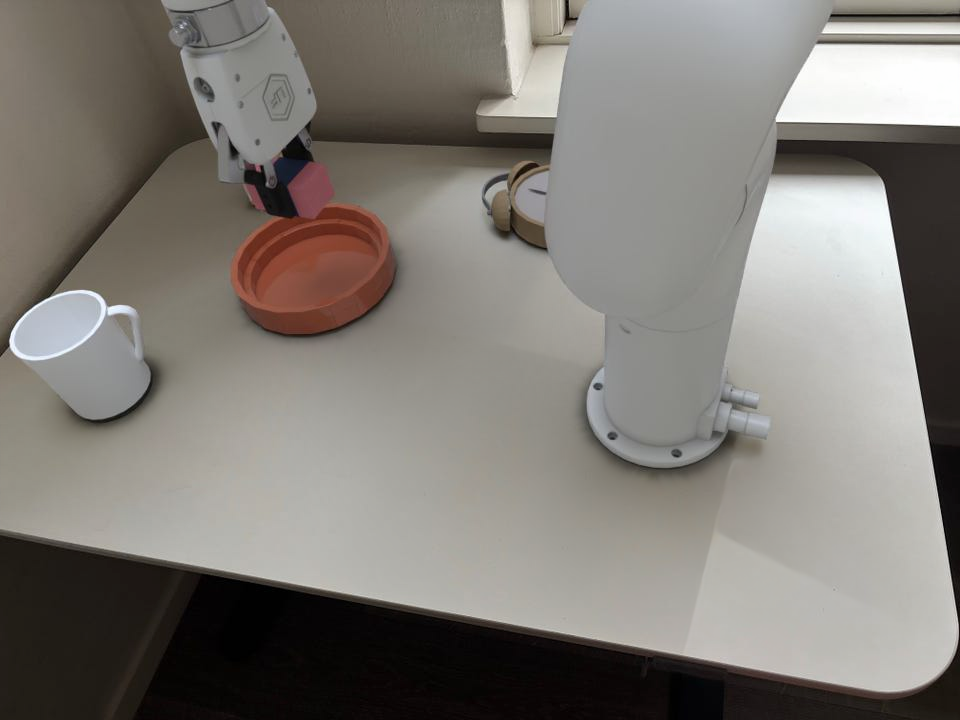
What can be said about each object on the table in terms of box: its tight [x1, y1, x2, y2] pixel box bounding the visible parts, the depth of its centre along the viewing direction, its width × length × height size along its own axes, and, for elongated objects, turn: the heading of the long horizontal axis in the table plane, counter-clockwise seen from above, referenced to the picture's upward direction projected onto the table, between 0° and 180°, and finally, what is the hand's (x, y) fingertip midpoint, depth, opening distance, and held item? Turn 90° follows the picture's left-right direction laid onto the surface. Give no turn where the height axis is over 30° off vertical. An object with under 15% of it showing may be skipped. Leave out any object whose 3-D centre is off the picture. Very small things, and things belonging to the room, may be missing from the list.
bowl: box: [230, 202, 397, 335], centre depth 80 cm, size 18×18×4 cm
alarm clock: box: [481, 160, 550, 249], centre depth 82 cm, size 11×5×15 cm
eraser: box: [245, 157, 336, 219], centre depth 70 cm, size 7×4×4 cm, turn 67°
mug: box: [8, 289, 153, 423], centre depth 71 cm, size 11×9×10 cm
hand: (295, 198), depth 71 cm, fingers closed on eraser, 4 cm apart
